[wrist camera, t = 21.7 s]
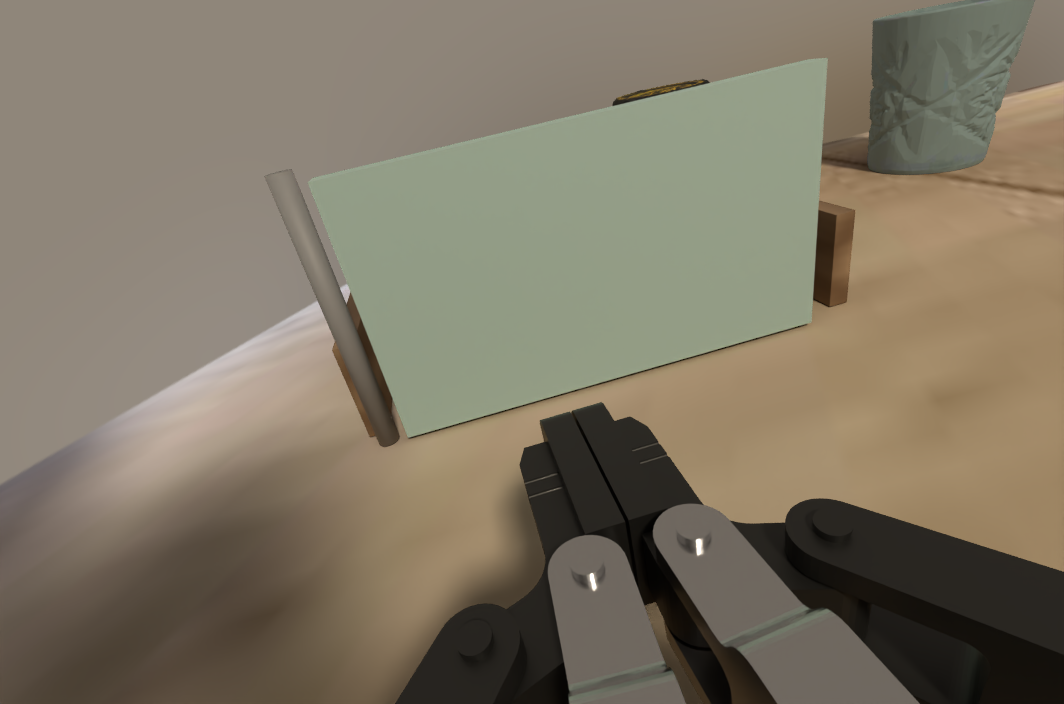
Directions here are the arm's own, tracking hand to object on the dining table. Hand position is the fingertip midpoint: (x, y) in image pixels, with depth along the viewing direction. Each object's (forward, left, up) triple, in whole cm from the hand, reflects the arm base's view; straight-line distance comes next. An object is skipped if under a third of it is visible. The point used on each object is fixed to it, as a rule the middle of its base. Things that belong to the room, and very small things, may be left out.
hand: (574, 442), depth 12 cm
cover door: (+4, +12, -6) cm, 14 cm away
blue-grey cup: (+41, +32, -7) cm, 52 cm away
